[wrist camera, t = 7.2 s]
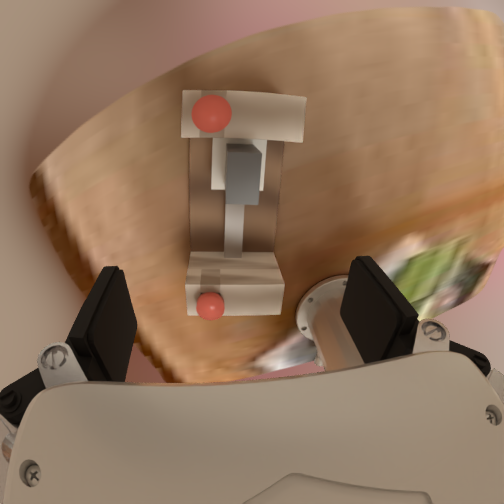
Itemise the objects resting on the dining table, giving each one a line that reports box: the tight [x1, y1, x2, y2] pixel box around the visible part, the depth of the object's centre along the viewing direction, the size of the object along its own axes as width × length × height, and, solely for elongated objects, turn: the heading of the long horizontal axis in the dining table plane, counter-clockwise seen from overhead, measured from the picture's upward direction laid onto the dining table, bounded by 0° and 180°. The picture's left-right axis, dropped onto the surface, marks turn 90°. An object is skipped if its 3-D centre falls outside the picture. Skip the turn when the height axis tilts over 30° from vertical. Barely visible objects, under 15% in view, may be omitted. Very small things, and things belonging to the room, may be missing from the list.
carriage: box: [211, 138, 267, 205], centre depth 25 cm, size 5×5×9 cm
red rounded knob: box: [192, 95, 232, 133], centre depth 20 cm, size 3×3×4 cm
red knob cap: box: [196, 292, 225, 320], centre depth 29 cm, size 3×3×4 cm
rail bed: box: [181, 90, 307, 316], centre depth 29 cm, size 22×10×8 cm, turn 176°
